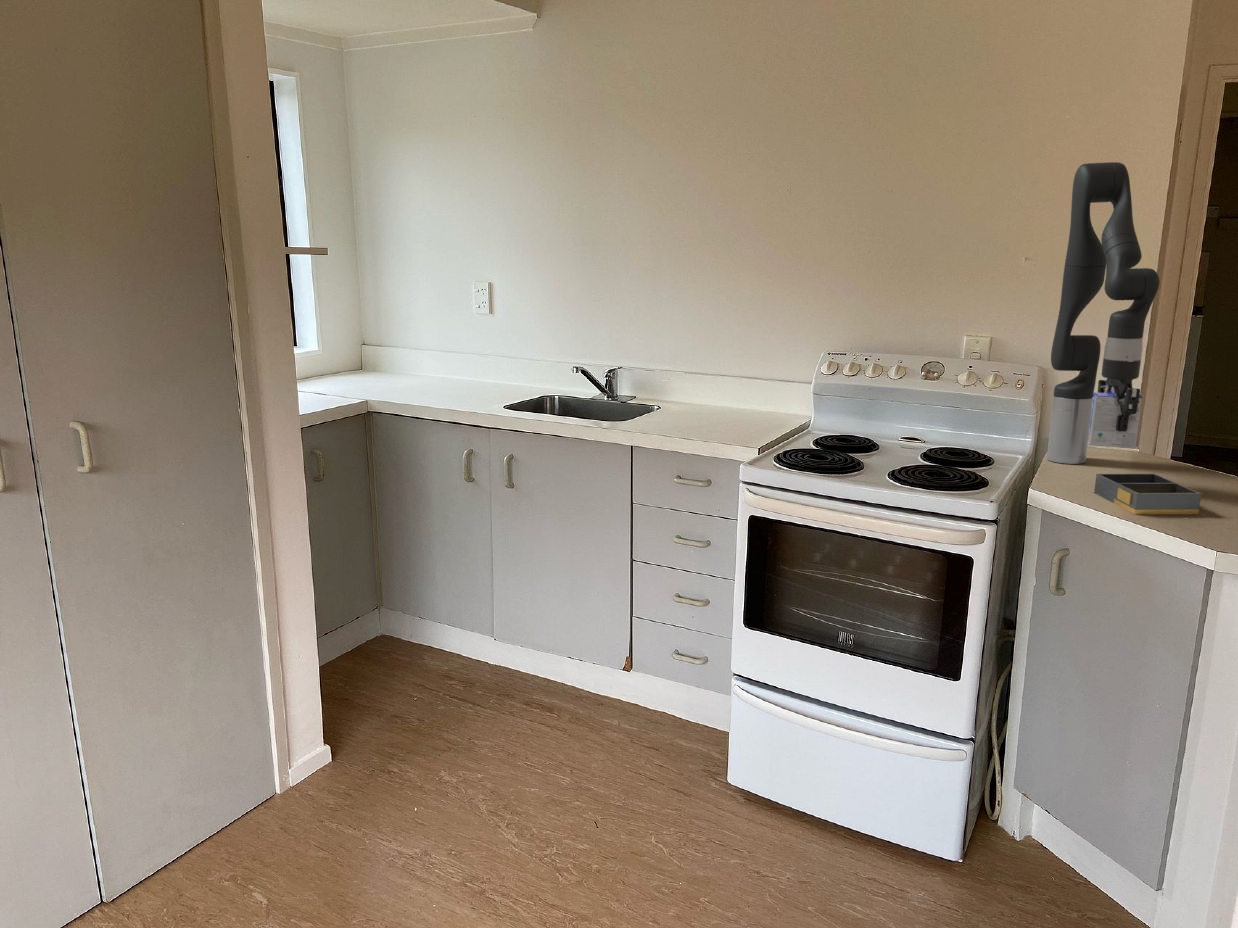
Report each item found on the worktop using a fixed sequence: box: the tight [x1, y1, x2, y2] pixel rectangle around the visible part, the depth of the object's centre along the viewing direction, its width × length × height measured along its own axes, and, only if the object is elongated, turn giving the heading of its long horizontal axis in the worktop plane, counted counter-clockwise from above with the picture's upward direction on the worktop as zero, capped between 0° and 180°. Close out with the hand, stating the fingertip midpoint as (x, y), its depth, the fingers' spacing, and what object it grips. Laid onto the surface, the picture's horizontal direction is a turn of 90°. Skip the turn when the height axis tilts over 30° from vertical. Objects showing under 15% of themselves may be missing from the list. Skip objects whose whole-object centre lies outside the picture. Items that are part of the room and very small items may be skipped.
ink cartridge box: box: [1088, 390, 1144, 449], centre depth 198 cm, size 10×6×14 cm, turn 66°
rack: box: [1093, 473, 1202, 515], centre depth 185 cm, size 17×13×4 cm
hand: (1113, 427), depth 199 cm, fingers closed on ink cartridge box, 6 cm apart
